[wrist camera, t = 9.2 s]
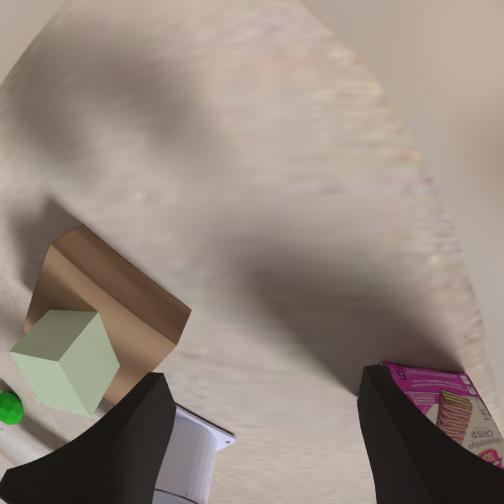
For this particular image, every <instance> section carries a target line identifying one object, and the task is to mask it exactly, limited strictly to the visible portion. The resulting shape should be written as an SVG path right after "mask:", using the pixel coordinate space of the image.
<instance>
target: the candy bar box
mask: <svg viewBox="0 0 504 504" xmlns="http://www.w3.org/2000/svg"><path fill="white" fill-rule="evenodd" d="M380 365H381V366H383V368H384V369H385V370H386V371H387V373H388V374H389V375H390V376H391V378H392V379H393V380H394V381H395V382H396V384H397V385H398V386H399V387H400V388H401V390H402V391H403V392H404V393H405V394H406V395H407V396H408V398H409V399H410V400H411V401H412V402H413V403H414V404H415V405H416V406H417V407H418V408H419V409H420V410H421V411H422V413H423V414H424V415H426V416H427V417H428V418H429V419H430V420H431V421H432V422H433V423H434V424H435V425H436V426H437V427H438V428H439V429H441V430H442V431H443V432H444V433H445V434H447V435H448V436H449V437H450V438H452V439H453V440H454V441H456V442H457V443H458V444H460V445H461V446H463V447H464V448H466V449H467V450H469V451H471V452H472V453H474V454H475V455H477V456H479V457H480V458H482V459H484V460H486V461H488V462H490V463H492V464H494V465H496V466H498V467H500V468H503V469H504V439H503V437H502V436H501V434H500V432H499V430H498V428H497V426H496V423H495V422H494V420H493V418H492V416H491V415H490V413H489V411H488V409H487V407H486V406H485V404H484V402H483V400H482V399H481V397H480V395H479V394H478V392H477V390H476V388H475V387H474V385H473V383H472V381H471V380H470V378H469V376H468V375H467V374H466V373H455V372H446V371H437V370H431V369H423V368H416V367H409V366H402V365H397V364H390V363H385V362H382V363H381V364H380ZM358 396H359V395H358ZM357 401H358V397H357Z"/></svg>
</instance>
